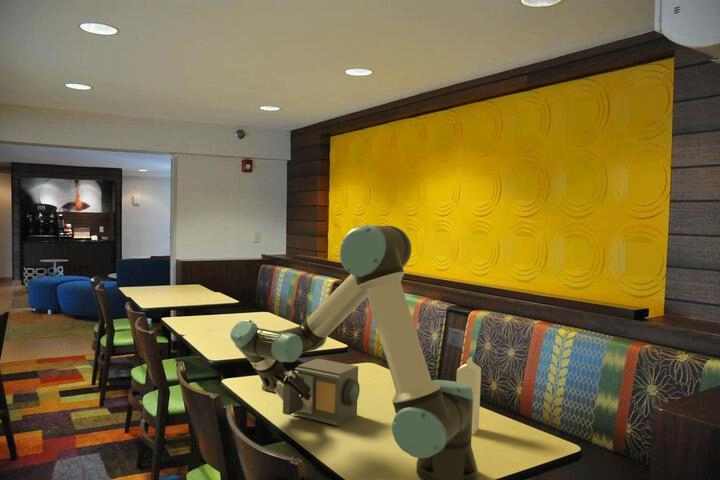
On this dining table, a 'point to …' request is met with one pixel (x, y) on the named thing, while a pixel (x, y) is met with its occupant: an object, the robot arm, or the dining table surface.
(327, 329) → the robot arm
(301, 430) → the dining table surface
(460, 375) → the milk
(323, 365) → the camera box
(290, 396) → the door
